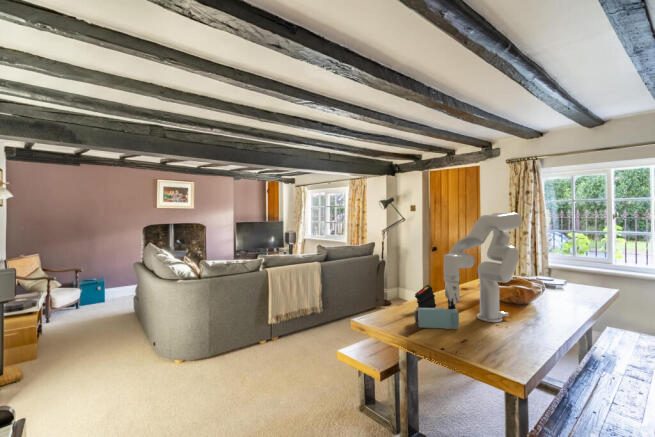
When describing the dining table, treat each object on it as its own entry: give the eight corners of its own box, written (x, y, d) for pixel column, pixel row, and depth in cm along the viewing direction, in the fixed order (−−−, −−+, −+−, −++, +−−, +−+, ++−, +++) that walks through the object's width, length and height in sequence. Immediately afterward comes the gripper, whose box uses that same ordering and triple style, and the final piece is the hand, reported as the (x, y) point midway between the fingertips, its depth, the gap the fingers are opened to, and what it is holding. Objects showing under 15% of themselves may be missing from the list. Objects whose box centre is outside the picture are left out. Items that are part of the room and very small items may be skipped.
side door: (457, 327, 155) (457, 309, 155) (458, 329, 153) (458, 310, 153) (418, 326, 158) (417, 308, 158) (418, 328, 156) (418, 309, 155)
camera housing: (443, 322, 164) (442, 307, 164) (447, 327, 157) (446, 312, 157) (414, 322, 165) (414, 307, 165) (416, 327, 158) (416, 312, 158)
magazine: (440, 306, 185) (431, 285, 182) (424, 318, 181) (415, 297, 178) (435, 304, 189) (427, 284, 186) (420, 316, 184) (411, 296, 181)
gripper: (464, 281, 149) (464, 318, 150) (454, 275, 164) (454, 308, 165) (448, 281, 150) (448, 318, 151) (440, 274, 165) (440, 308, 165)
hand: (451, 313), depth 158 cm, fingers closed
